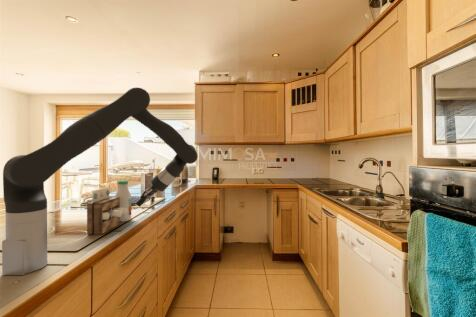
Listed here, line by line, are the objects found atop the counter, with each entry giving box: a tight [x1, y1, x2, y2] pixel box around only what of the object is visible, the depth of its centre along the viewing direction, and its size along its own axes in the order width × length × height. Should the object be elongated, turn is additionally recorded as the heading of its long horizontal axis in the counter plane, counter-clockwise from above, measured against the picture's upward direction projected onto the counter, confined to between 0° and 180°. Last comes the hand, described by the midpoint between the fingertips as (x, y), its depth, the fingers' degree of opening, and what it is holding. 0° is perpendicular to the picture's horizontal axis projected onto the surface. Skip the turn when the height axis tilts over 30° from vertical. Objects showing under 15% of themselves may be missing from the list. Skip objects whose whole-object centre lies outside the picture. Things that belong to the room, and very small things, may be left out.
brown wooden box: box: [86, 196, 121, 235], centre depth 109 cm, size 15×6×13 cm, turn 178°
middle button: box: [108, 210, 122, 217], centre depth 109 cm, size 3×5×3 cm, turn 88°
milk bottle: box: [114, 180, 132, 223], centre depth 123 cm, size 8×8×20 cm
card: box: [91, 186, 111, 203], centre depth 109 cm, size 12×1×5 cm, turn 178°
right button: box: [114, 208, 127, 214], centre depth 113 cm, size 3×5×3 cm, turn 88°
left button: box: [102, 212, 110, 220], centre depth 104 cm, size 3×5×3 cm, turn 88°
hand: (138, 205), depth 113 cm, fingers closed
